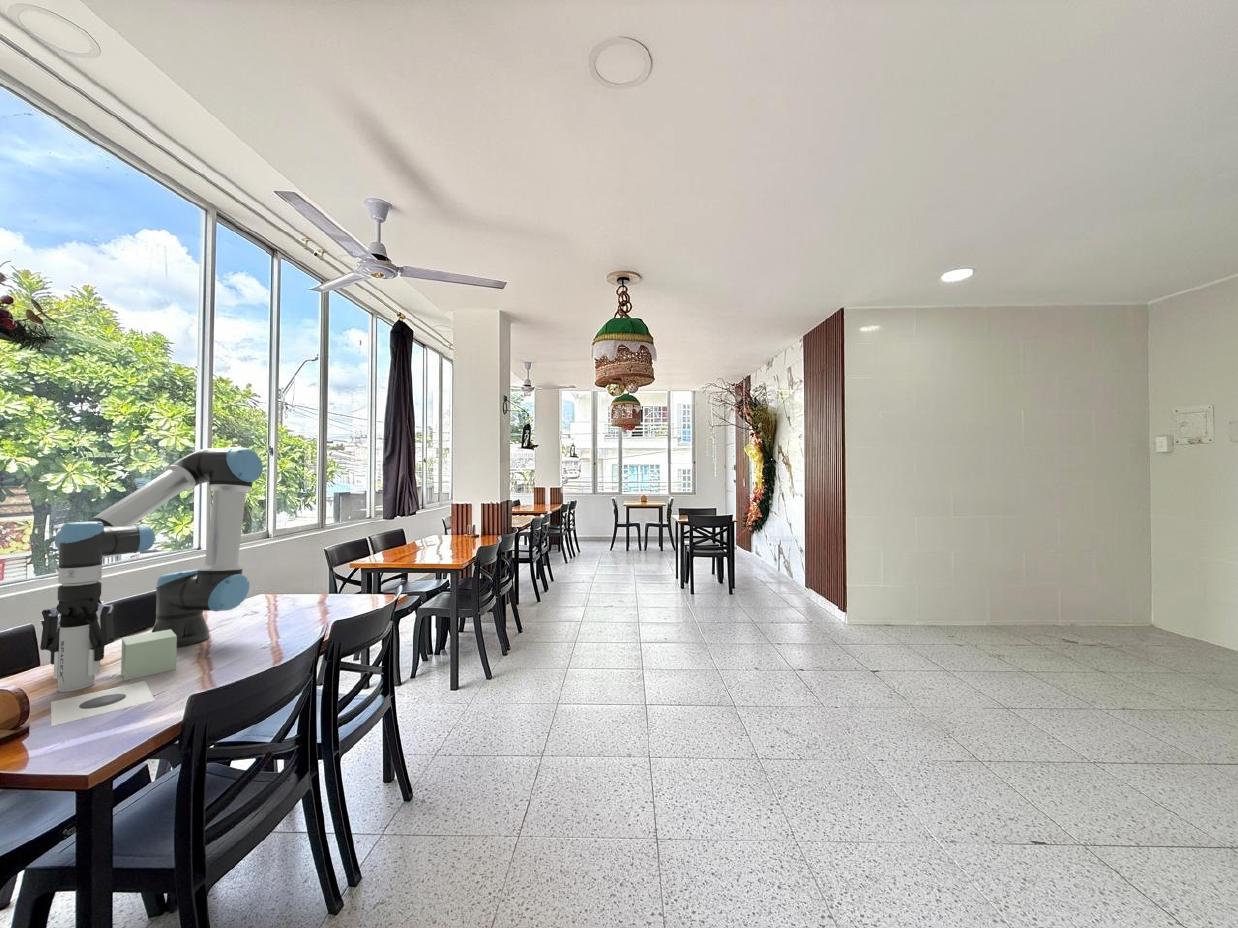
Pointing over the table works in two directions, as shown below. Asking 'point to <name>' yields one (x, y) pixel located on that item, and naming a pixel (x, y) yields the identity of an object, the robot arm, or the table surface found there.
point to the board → (99, 702)
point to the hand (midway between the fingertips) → (77, 675)
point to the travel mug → (74, 653)
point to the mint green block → (148, 654)
